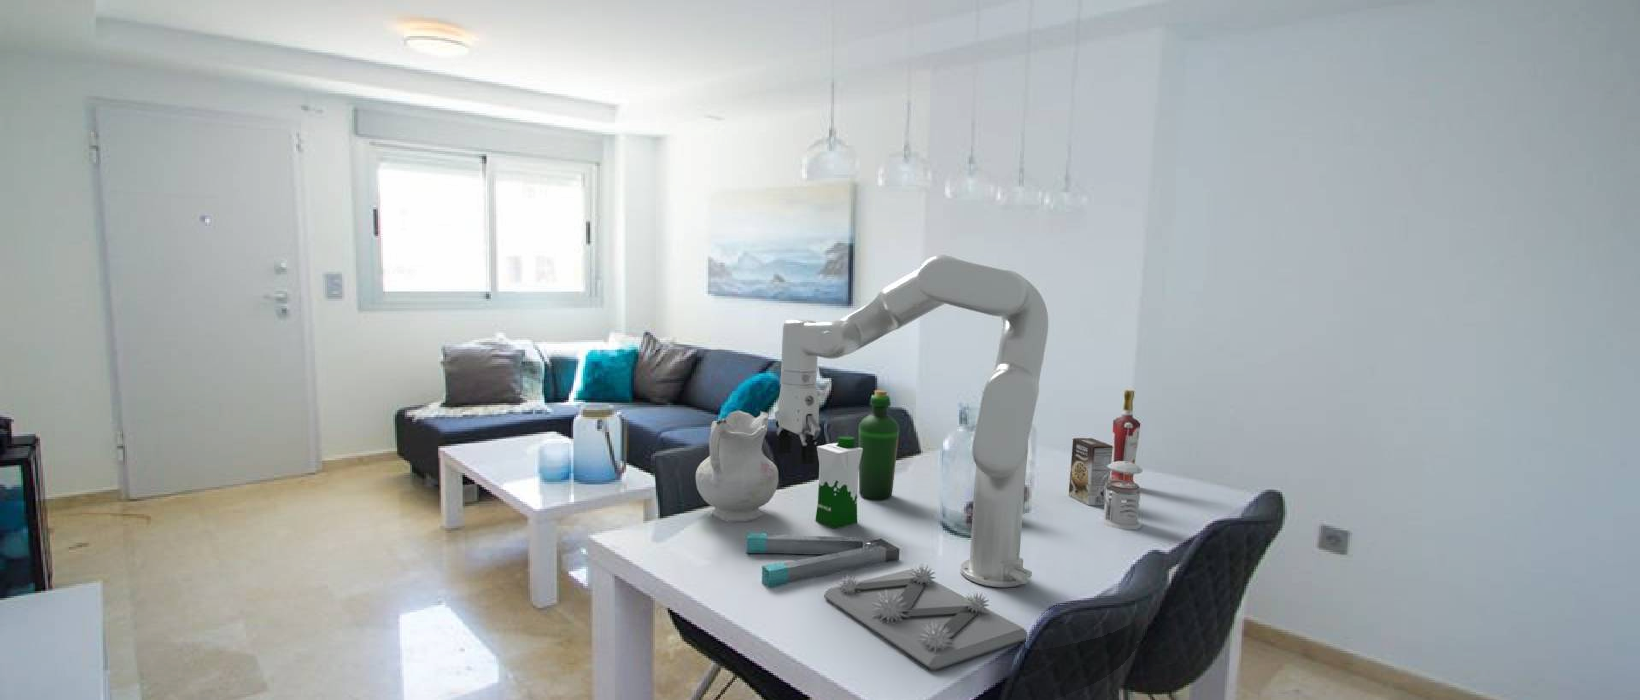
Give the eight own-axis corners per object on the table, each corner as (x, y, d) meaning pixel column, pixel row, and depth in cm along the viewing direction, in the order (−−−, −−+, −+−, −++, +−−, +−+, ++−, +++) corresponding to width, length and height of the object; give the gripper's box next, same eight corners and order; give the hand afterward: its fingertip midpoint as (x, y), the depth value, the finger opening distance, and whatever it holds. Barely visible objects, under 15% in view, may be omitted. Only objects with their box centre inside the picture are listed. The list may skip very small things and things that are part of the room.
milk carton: (862, 523, 178) (867, 439, 176) (834, 531, 172) (838, 444, 170) (837, 513, 185) (841, 432, 183) (809, 520, 179) (812, 437, 177)
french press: (1150, 527, 184) (1160, 425, 182) (1113, 531, 180) (1122, 427, 177) (1121, 514, 193) (1129, 417, 191) (1084, 518, 189) (1092, 419, 186)
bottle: (902, 495, 202) (908, 391, 199) (884, 504, 193) (889, 396, 190) (867, 487, 208) (872, 386, 205) (847, 496, 199) (852, 390, 196)
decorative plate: (1031, 643, 124) (1034, 602, 123) (932, 678, 112) (934, 632, 112) (912, 578, 149) (914, 542, 148) (820, 600, 137) (822, 562, 136)
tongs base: (880, 549, 162) (881, 534, 162) (899, 559, 157) (900, 544, 156) (752, 574, 146) (753, 558, 146) (768, 587, 140) (769, 570, 140)
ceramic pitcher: (760, 538, 168) (773, 429, 166) (676, 524, 171) (687, 416, 168) (780, 509, 190) (792, 412, 187) (705, 496, 193) (716, 400, 190)
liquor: (1115, 481, 225) (1123, 387, 223) (1139, 487, 220) (1148, 391, 217) (1102, 484, 221) (1110, 389, 218) (1126, 491, 215) (1135, 393, 212)
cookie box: (1067, 495, 208) (1071, 437, 207) (1087, 494, 210) (1091, 437, 209) (1088, 505, 200) (1093, 445, 198) (1108, 504, 202) (1113, 444, 200)
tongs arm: (874, 551, 160) (875, 536, 160) (876, 559, 156) (877, 544, 155) (747, 547, 159) (747, 532, 159) (745, 555, 155) (746, 540, 154)
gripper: (836, 384, 155) (831, 466, 156) (793, 371, 169) (790, 447, 171) (804, 385, 151) (800, 470, 152) (763, 373, 165) (760, 450, 167)
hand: (794, 458), depth 162 cm, fingers open, 9 cm apart
